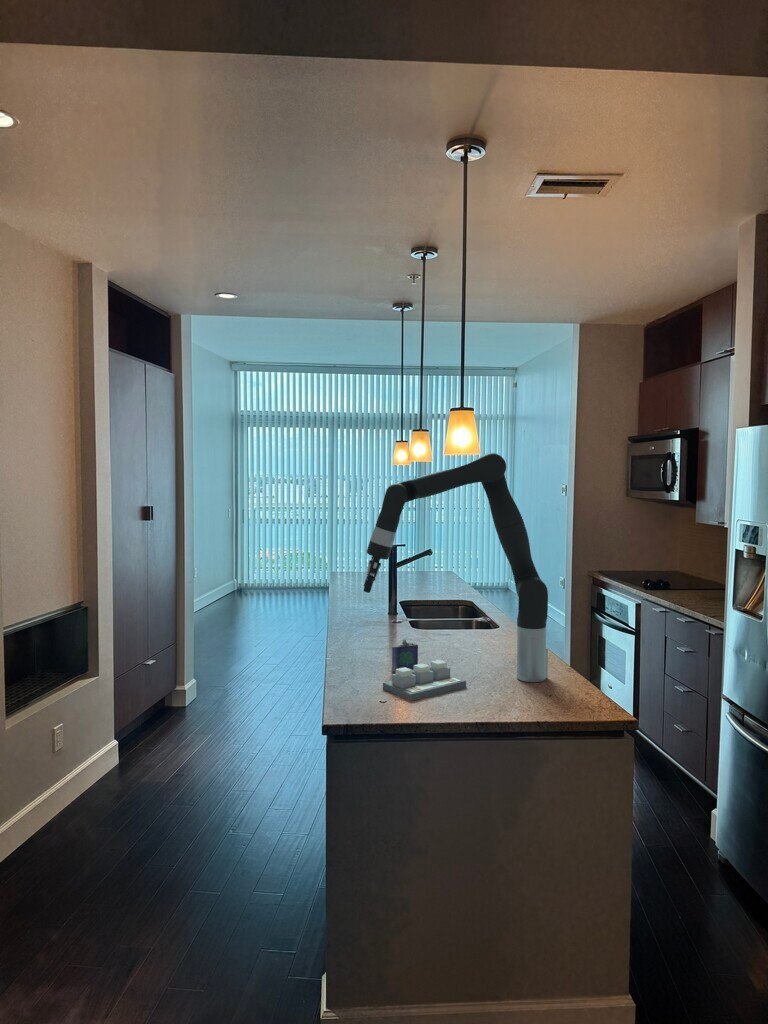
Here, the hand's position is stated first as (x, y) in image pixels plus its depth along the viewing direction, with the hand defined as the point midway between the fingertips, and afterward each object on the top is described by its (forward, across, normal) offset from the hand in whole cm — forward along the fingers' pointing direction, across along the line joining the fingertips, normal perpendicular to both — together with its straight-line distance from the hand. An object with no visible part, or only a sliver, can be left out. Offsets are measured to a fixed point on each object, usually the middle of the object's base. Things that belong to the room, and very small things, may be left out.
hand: (366, 589), depth 219 cm
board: (+22, -13, -26) cm, 36 cm away
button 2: (+17, -7, -29) cm, 35 cm away
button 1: (+20, -15, -18) cm, 31 cm away
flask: (+24, +6, -21) cm, 32 cm away
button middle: (+19, -11, -24) cm, 32 cm away
